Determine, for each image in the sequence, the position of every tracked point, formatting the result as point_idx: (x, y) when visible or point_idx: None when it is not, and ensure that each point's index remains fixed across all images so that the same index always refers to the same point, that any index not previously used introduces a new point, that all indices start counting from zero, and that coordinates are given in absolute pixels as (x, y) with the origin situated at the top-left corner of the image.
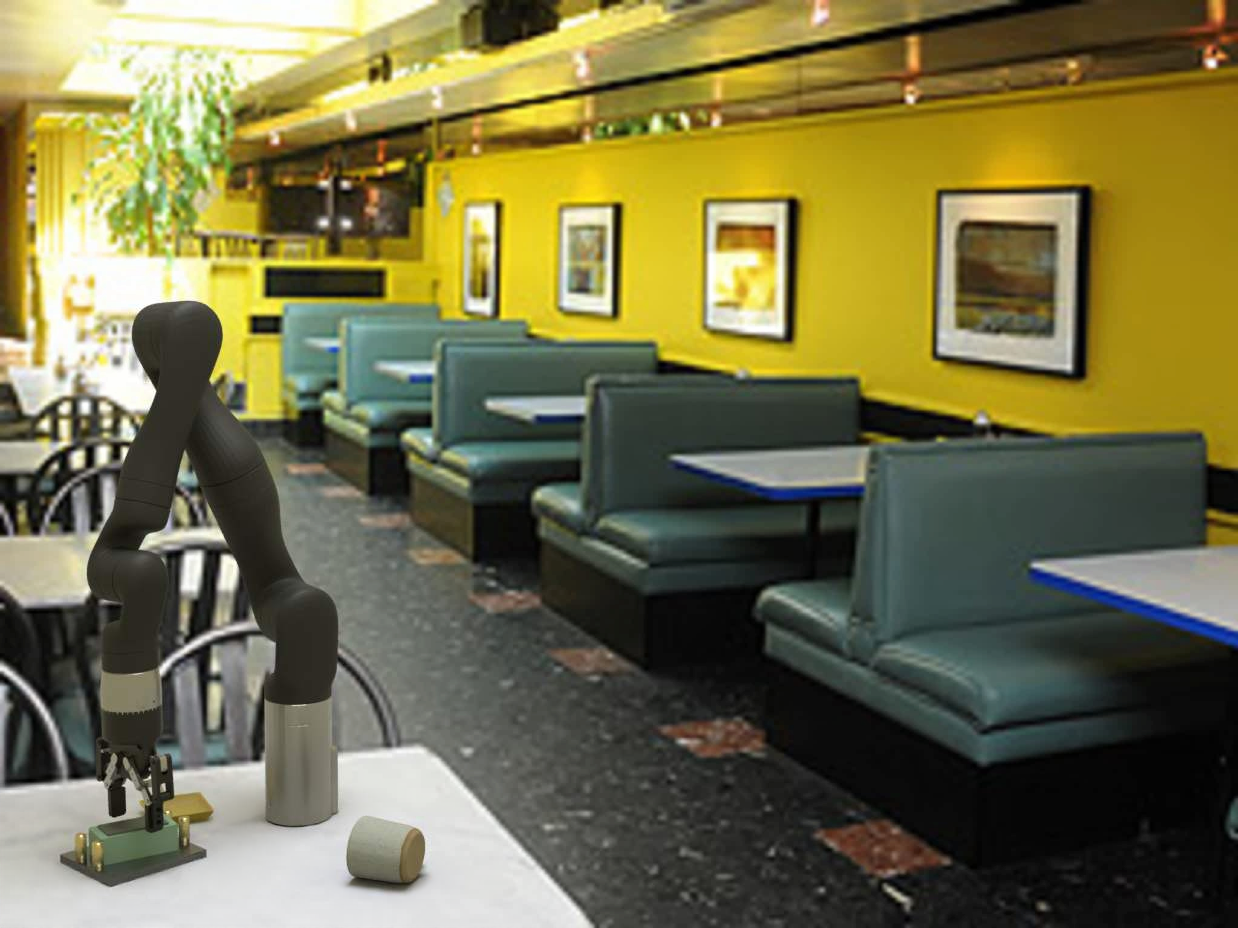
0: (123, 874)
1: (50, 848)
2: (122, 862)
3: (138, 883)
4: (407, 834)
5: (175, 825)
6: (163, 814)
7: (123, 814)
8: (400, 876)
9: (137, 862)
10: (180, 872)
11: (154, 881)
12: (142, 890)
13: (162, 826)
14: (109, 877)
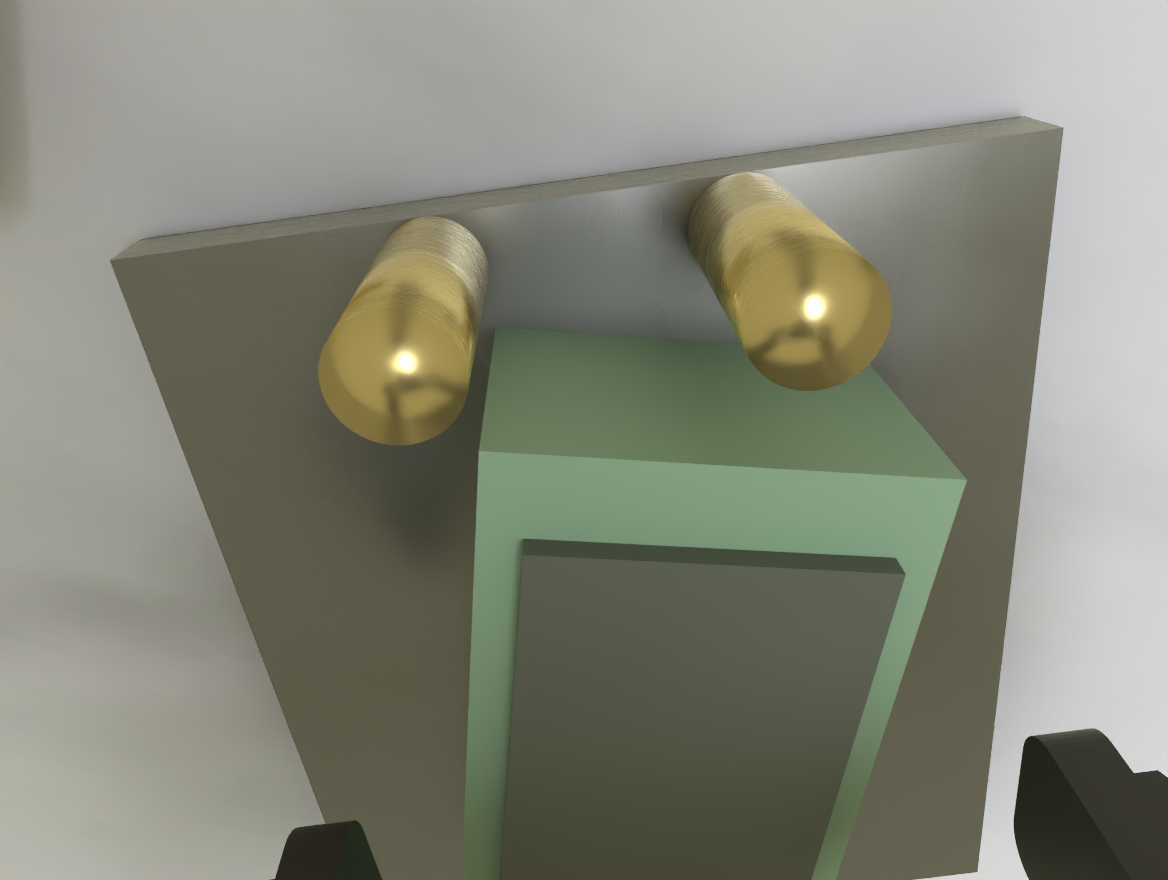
0: (975, 803)
1: (107, 877)
2: None
3: (1046, 711)
4: None
5: (956, 500)
6: (525, 472)
7: (359, 830)
8: None
9: None
10: (1125, 447)
11: (1105, 635)
12: (1161, 730)
13: (1160, 777)
14: (953, 868)
